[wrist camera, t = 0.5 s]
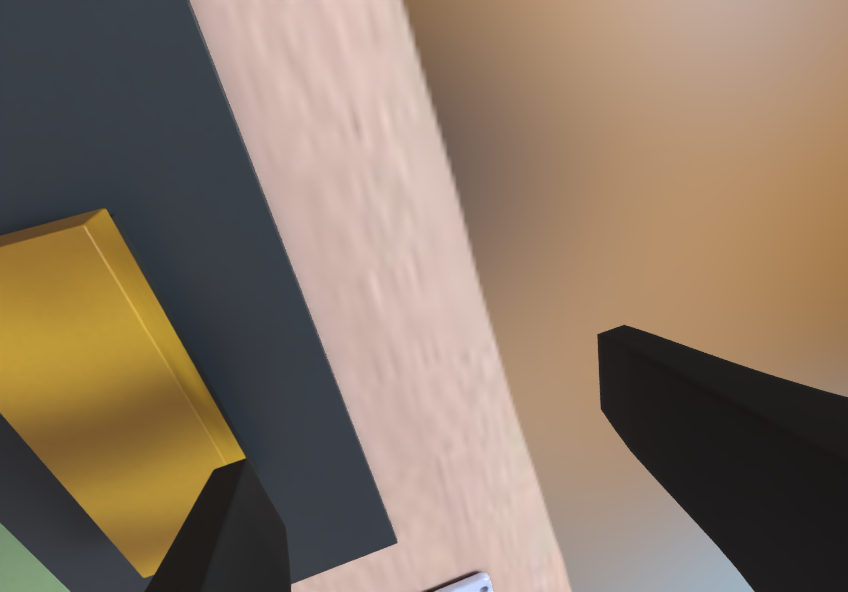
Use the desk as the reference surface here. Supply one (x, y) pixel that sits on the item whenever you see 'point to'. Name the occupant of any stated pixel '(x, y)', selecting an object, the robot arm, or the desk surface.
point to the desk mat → (169, 276)
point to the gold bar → (107, 382)
